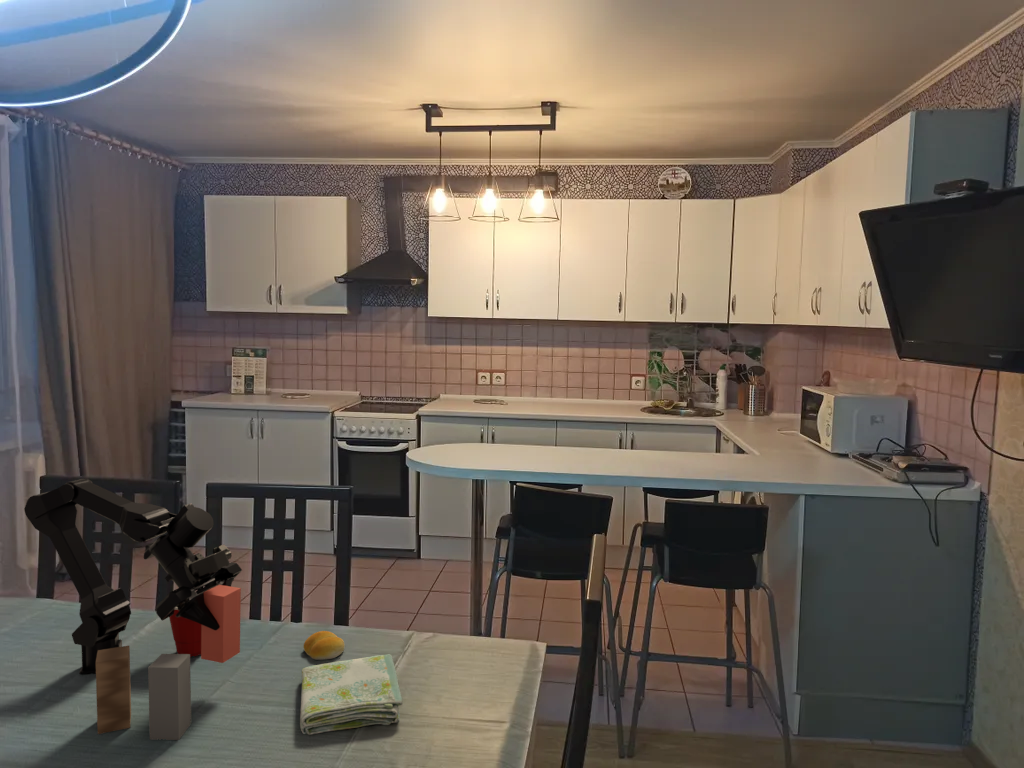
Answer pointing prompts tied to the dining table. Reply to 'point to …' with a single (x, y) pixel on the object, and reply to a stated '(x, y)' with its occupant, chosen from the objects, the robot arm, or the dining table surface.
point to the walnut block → (113, 689)
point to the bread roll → (323, 645)
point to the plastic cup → (186, 635)
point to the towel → (349, 694)
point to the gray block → (169, 696)
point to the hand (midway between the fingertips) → (227, 623)
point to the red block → (222, 624)
